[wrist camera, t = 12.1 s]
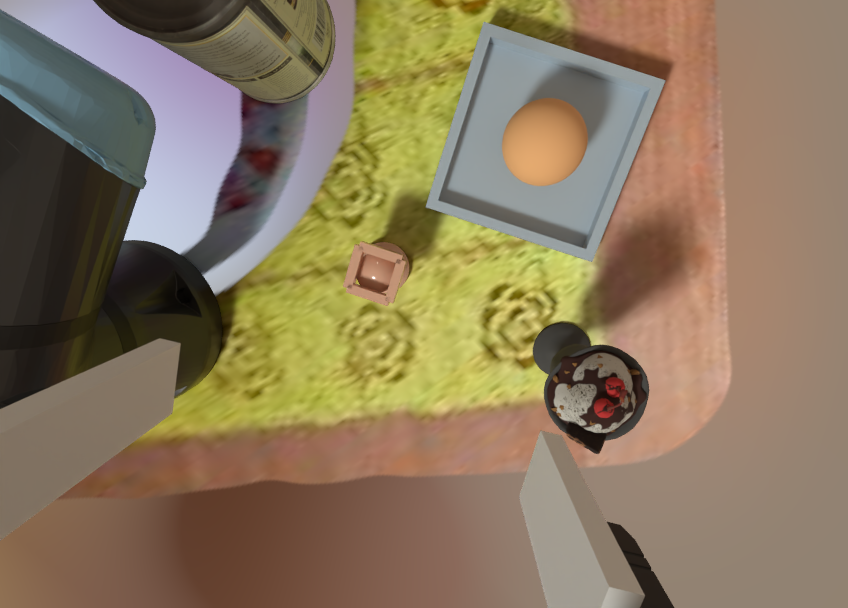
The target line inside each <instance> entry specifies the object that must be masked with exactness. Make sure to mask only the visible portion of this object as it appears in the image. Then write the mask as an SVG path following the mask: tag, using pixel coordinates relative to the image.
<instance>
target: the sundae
mask: <svg viewBox="0 0 848 608" xmlns="http://www.w3.org/2000/svg"><path fill="white" fill-rule="evenodd" d="M533 355H534V359H535V362H536V364H537V365H538V367H539V368H540V369H541V370H542V371H544V372H545V373H547V374H549V376H548V378H547V380H546V382H545V387H544V399H545V403H546V407H547V410H548V412H549V415H550V417H551V418H552V420H553V421H554V423H555V424H556V425H557V426H558V427H559V429H560V430H562V431H563V432H565V433H566V434H567V436H568V437H569V438H570V439H572V440H573V441H575V442H576V443H578V444H579V445H581V446H583V447H585V448H587V449H589V450H590V451H592V452H593V453H595V454H599V453H600V451H601V449H602V446H603V444H604V441H606V440H611V439H616V438H618V437H620V436H622V435H624V434H626V433H627V432H629V431H630V430H631V429H633V428H634V427H635V425H636V424H637V423H638V421H639V420H640V418H641V417H642V415H643V413H644V410H645V407H646V404H647V400H648V395H649V384H648V380H647V376H646V374H645V372H644V371H643V369H642V367H641V366H640V365H639V364H638V362H637V361H636V360H635V359H634V358H632V357H631V356H629V355H628V354H627V353H625V352H623V351H622V350H620V349H618V348H615V347H612V346H608V345H594V346H590V342H589V339H588V337H587V336H586V334H585V333H584V332H583V330H581V329H580V328H578V327H577V326H575V325H572V324H568V323H558V324H554V325H550V326H549V327H547V328H545V329H544V330H543V331H542V332H541V333H540V334H539V335H538V337H537V338H536V340H535V343H534V347H533Z"/></svg>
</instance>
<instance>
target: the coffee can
mask: <svg viewBox="0 0 848 608" xmlns="http://www.w3.org/2000/svg"><path fill="white" fill-rule="evenodd" d="M93 1H94V2H95V3H96V4H97V5H98V6H99V7H100V8H101V9H102V10H103V11H104V12H105V13H106V14H107V15H108V16H110V17H111V18H112V19H114V20H115V21H116V22H118V23H119V24H121V25H122V26H124V27H126V28H128V29H130V30H132V31H134V32H136V33H138V34H141V35H143V36H146V37H148V38H150V39H152V40H154V41H156V42H157V43H159V44H161V45H163V46H164V47H166V48H168V49H170V50H171V51H173V52H175V53H177V54H178V55H180V56H182V57H184V58H185V59H187V60H189V61H191V62H192V63H194V64H196V65H198V66H200V67H201V68H203V69H204V70H206V71H208V72H210V73H212V74H214V75H215V76H217V77H219V78H221V79H222V80H224V81H226V82H227V83H230V84H231V85H233V86H235V87H236V88H238V89H239V90H241V91H242V92H243V93H245V94H246V95H248V96H250V97H252V98H254V99H256V100H259V101H263V102H267V103H286V102H290V101H294V100H296V99H298V98H301V97H303V96H305V95H306V94H307V93H309V92H310V91H312V90H313V89H314V88H315V87H316V86H317V85H318V84H319V83H320V82H321V80H322V79H323V78H324V76H325V74H326V72H327V71H328V68H329V67H330V64H331V61H332V59H333V54H334V48H335V25H334V20H333V16H332V13H331V10H330V6H329V4H328V2H327V0H93Z"/></svg>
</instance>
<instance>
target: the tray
mask: <svg viewBox="0 0 848 608" xmlns="http://www.w3.org/2000/svg"><path fill="white" fill-rule="evenodd" d="M665 81H666V80H663V79H660V78H657V77H654V76H650V75H647V74H644V73H641V72H638V71H635V70H632V69H629V68H626V67H623V66H619V65H616V64H613V63H610V62H607V61H604V60H601V59H598V58H595V57H592V56H588V55H585V54H582V53H579V52H576V51H573V50H570V49H567V48H564V47H561V46H557V45H554V44H551V43H548V42H545V41H542V40H539V39H536V38H533V37H530V36H526V35H523V34H520V33H517V32H514V31H511V30H508V29H505V28H502V27H499V26H495V25H492V24H489V23H486V22H484V23H483V26H482V29H481V32H480V35H479V39H478V42H477V45H476V48H475V51H474V55H473V58H472V61H471V64H470V67H469V70H468V74H467V77H466V80H465V83H464V86H463V89H462V93H461V96H460V99H459V102H458V105H457V109H456V112H455V115H454V118H453V121H452V124H451V128H450V131H449V134H448V137H447V140H446V144H445V147H444V150H443V153H442V156H441V159H440V163H439V166H438V169H437V172H436V175H435V178H434V182H433V185H432V188H431V191H430V194H429V198H428V201H427V204H426V207H427V208H430V209H433V210H436V211H439V212H442V213H445V214H448V215H451V216H454V217H457V218H460V219H463V220H466V221H469V222H472V223H475V224H478V225H481V226H484V227H487V228H490V229H493V230H496V231H499V232H503V233H506V234H509V235H512V236H515V237H518V238H521V239H524V240H527V241H530V242H533V243H536V244H539V245H542V246H545V247H548V248H551V249H554V250H557V251H560V252H563V253H566V254H569V255H572V256H575V257H578V258H581V259H585V260H588V261H591V262H592V261H593V258H594V256H595V253H596V251H597V248H598V246H599V243H600V241H601V239H602V236H603V234H604V231H605V229H606V226H607V224H608V221H609V219H610V216H611V214H612V211H613V209H614V206H615V204H616V202H617V199H618V197H619V194H620V192H621V189H622V187H623V184H624V182H625V179H626V177H627V174H628V172H629V169H630V167H631V165H632V162H633V160H634V157H635V155H636V152H637V150H638V147H639V145H640V142H641V140H642V137H643V135H644V132H645V130H646V128H647V125H648V123H649V120H650V118H651V115H652V113H653V110H654V108H655V105H656V103H657V100H658V98H659V96H660V93H661V91H662V88H663V86H664V83H665ZM542 98H556V99H560V100H563V101H565V102H567V103H569V104H571V105H572V106H573V107H574V108H576V110H577V111H578V112H579V113H580V114H581V116H582V118H583V119H584V122H585V124H586V128H587V133H588V143H587V149H586V152H585V155H584V157H583V159H582V161H581V163H580V165H579V166H578V167H577V169H576V170H575V171H574V172H573V173H572V174H571V175H570V176H568V177H567V178H566V179H564V180H562V181H560V182H558V183H556V184H552V185H548V186H534V185H530V184H527V183H524V182H522V181H521V180H519V179H518V178H516V177H515V176H514V175H513V174H512V173H511V172H510V170H509V169H508V167H507V165H506V163H505V161H504V158H503V153H502V140H503V134H504V131H505V128H506V126H507V124H508V122H509V120H510V119H511V118H512V116H513V115H514V114H515V113H516V112H517V111H518V110H519V109H520V108H521V107H523V106H524V105H526V104H527V103H530V102H532V101H535V100H538V99H542Z"/></svg>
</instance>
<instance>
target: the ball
mask: <svg viewBox="0 0 848 608" xmlns="http://www.w3.org/2000/svg"><path fill="white" fill-rule="evenodd" d="M587 143H588V133H587V128H586V124H585V122H584V119H583V118H582V116H581V114H580V113H579V112H578V111H577V110H576V108H574V107H573V106H572V105H571V104H569V103H567V102H565V101H563V100H560V99H556V98H542V99H538V100H535V101H532V102H530V103H527V104H526V105H524V106H523V107H521V108H520V109H519V110H518V111H517V112H516V113H515V114H514V115H513V116H512V118H511V119H510V120H509V122H508V124H507V126H506V128H505V131H504V134H503V140H502V153H503V158H504V161H505V163H506V165H507V167H508V169H509V170H510V172H511V173H512V174H513V175H514V176H515V177H516V178H518V179H519V180H521V181H522V182H524V183H527V184H530V185H534V186H548V185H552V184H556V183H558V182H560V181H562V180H564V179H566V178H567V177H568V176H570V175H571V174H572V173H573V172H574V171H575V170H576V169H577V167H578V166H579V165H580V163H581V161H582V159H583V157H584V155H585V152H586V149H587Z"/></svg>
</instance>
